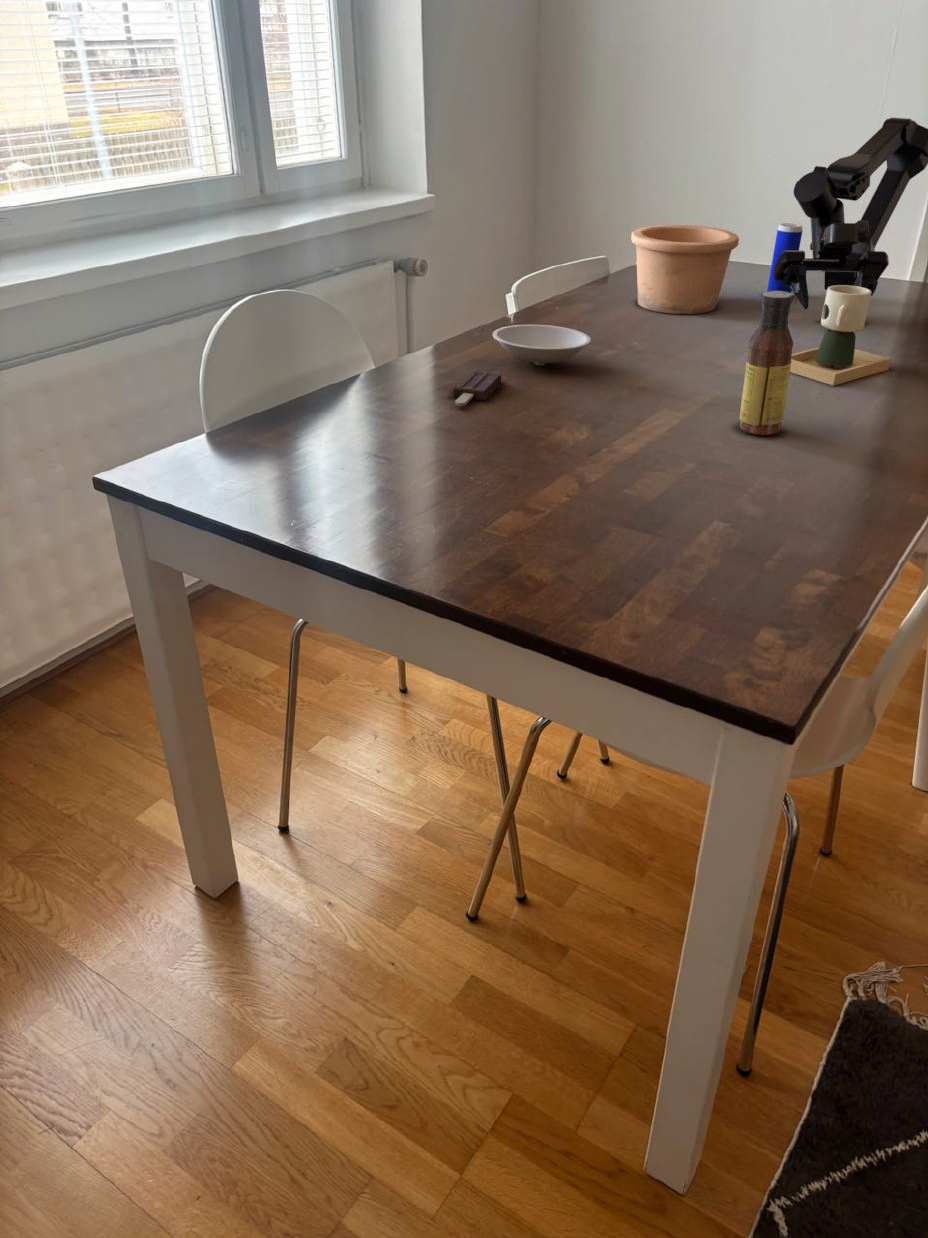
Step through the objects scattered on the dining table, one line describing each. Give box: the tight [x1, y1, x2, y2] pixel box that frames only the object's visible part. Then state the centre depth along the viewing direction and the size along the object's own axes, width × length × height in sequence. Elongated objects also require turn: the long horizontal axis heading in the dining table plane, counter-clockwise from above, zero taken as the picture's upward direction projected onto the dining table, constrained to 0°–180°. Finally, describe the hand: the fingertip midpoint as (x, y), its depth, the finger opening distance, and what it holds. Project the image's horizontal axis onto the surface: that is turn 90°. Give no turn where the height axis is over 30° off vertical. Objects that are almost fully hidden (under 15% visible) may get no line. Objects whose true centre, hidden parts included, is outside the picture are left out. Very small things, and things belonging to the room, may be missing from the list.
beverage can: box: [766, 222, 804, 294], centre depth 208 cm, size 5×5×15 cm
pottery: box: [630, 224, 740, 315], centre depth 202 cm, size 22×22×14 cm
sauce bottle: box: [739, 291, 794, 436], centre depth 138 cm, size 6×6×20 cm
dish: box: [492, 324, 592, 366], centre depth 168 cm, size 18×14×5 cm
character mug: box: [815, 285, 872, 368], centre depth 165 cm, size 11×7×13 cm, turn 154°
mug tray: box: [790, 346, 892, 387], centre depth 168 cm, size 12×16×2 cm
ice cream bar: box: [452, 369, 502, 407], centre depth 155 cm, size 5×2×15 cm
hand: (832, 308), depth 170 cm, fingers open, 9 cm apart
